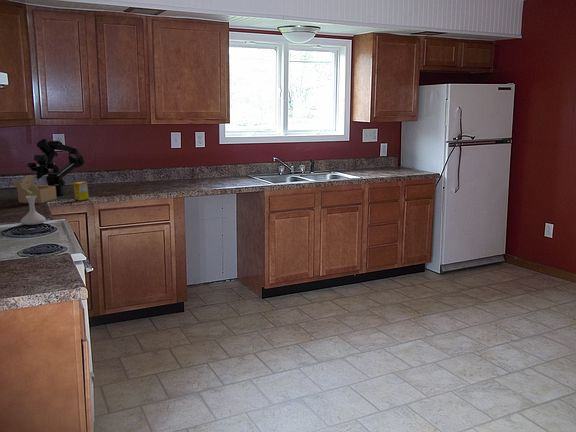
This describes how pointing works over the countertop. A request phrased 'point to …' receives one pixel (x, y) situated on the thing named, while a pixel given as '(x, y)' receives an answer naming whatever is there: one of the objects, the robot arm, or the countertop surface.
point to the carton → (38, 194)
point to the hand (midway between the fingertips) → (37, 178)
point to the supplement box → (81, 191)
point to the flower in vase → (31, 204)
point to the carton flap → (19, 186)
